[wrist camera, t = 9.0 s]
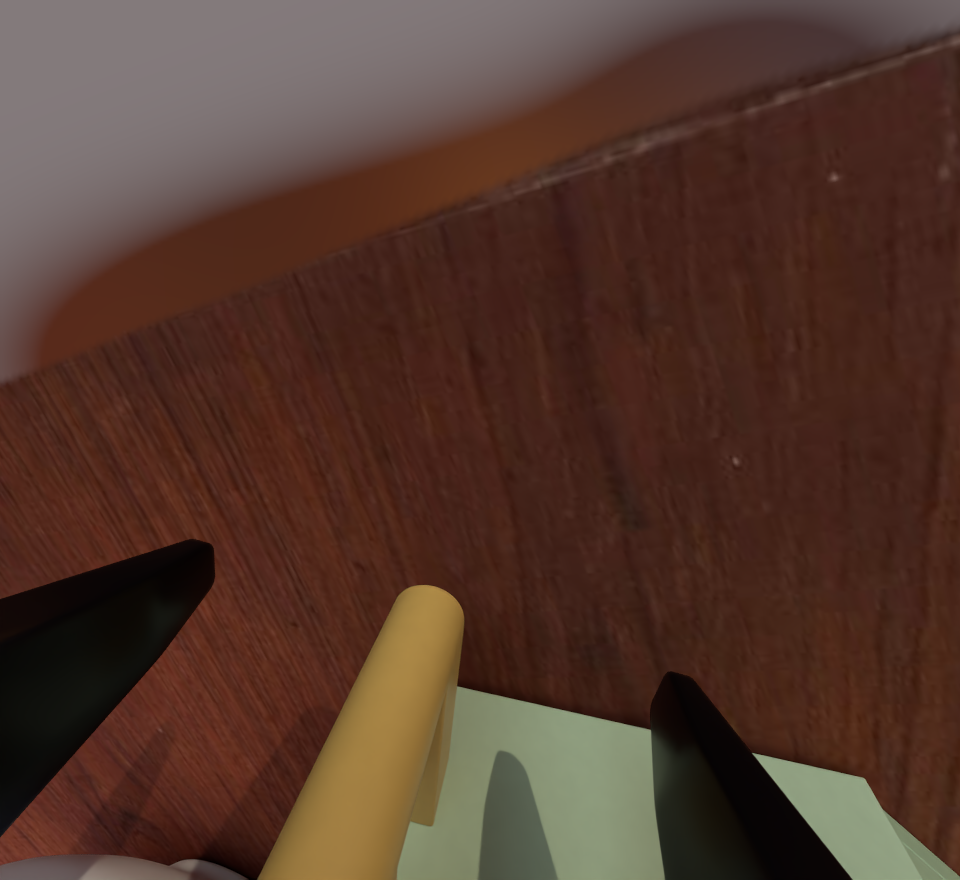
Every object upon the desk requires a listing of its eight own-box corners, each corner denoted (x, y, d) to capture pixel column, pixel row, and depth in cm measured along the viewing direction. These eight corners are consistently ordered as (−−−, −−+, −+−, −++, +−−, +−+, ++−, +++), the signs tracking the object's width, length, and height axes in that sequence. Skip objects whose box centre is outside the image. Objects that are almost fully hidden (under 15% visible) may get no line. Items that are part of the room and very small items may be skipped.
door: (386, 518, 12) (-47, 1147, 4) (961, 625, 10) (2723, 2244, 2) (380, 692, 14) (114, 1319, 6) (849, 800, 13) (1416, 1875, 4)
